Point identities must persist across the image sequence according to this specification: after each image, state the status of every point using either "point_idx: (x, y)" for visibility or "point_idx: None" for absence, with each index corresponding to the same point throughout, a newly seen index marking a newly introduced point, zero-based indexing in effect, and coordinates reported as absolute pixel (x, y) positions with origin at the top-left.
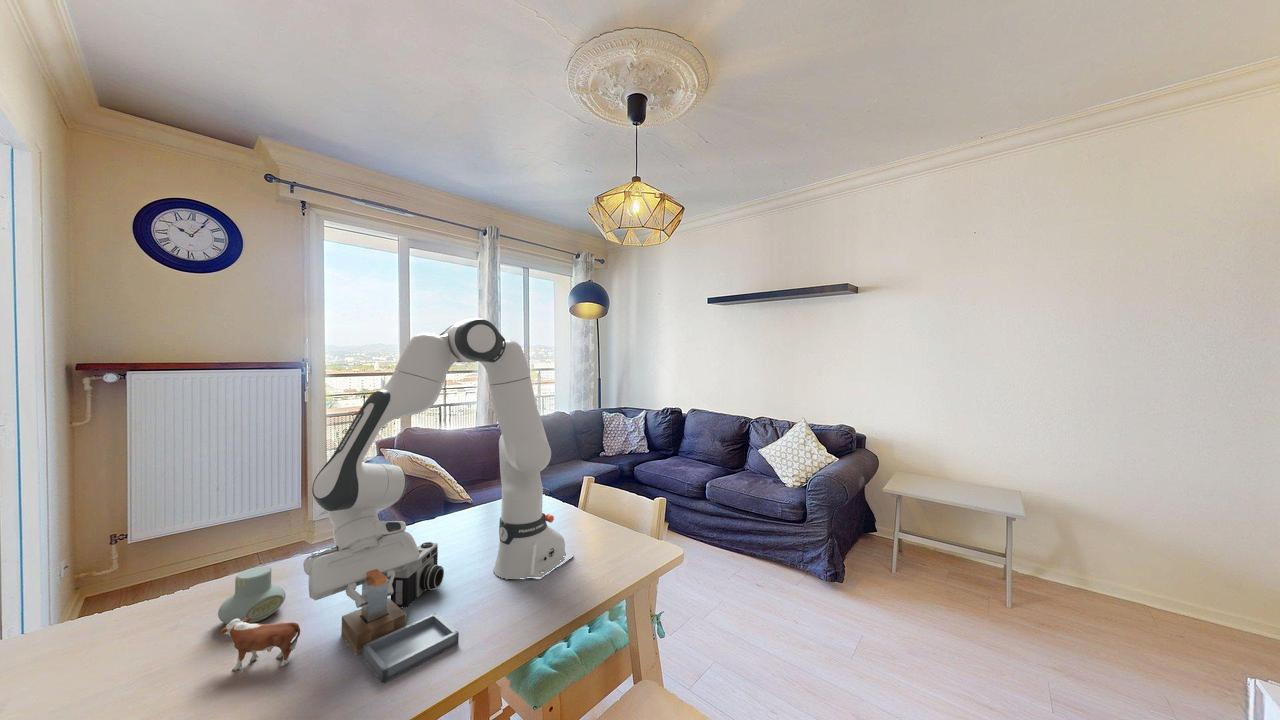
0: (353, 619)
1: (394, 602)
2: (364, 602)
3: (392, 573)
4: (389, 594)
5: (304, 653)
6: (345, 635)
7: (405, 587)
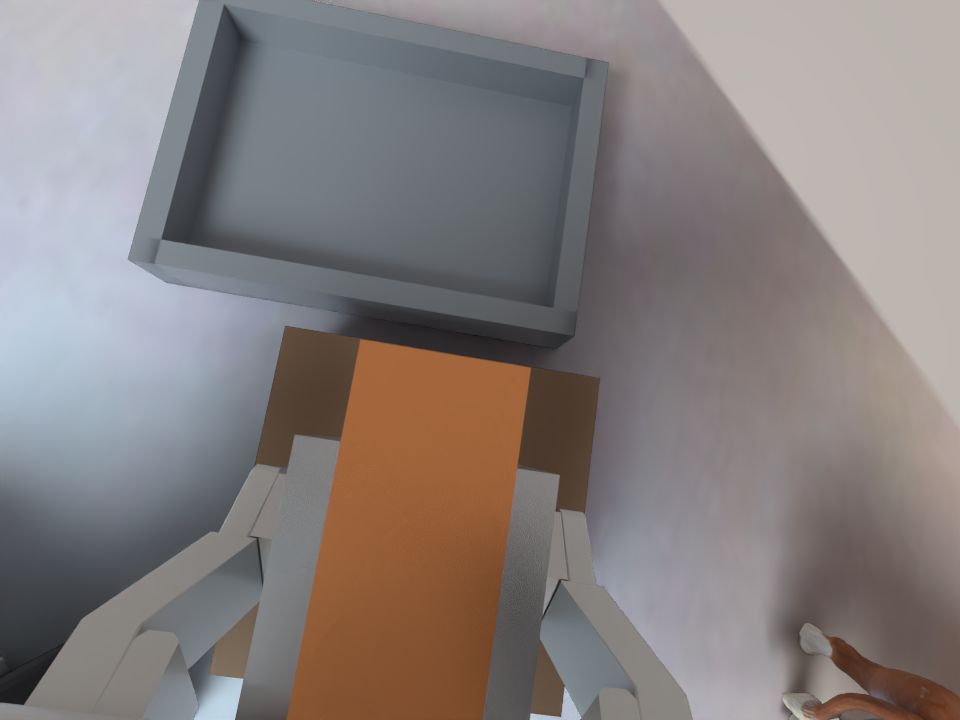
0: None
1: None
2: None
3: (98, 649)
4: None
5: (712, 654)
6: None
7: (27, 693)
